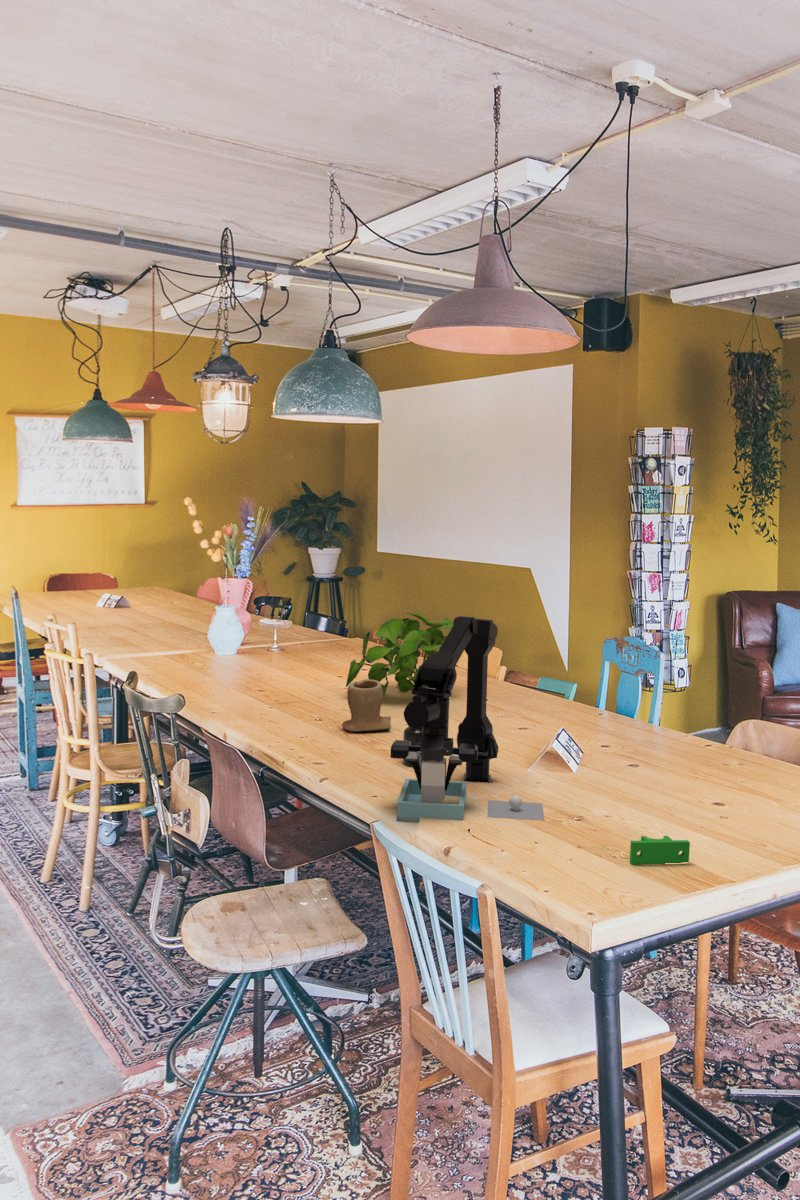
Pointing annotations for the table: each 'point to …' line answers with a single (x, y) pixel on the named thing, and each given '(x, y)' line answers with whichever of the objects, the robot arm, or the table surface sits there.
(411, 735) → the supplement bottle
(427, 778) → the beige rectangular block
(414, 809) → the bin
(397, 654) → the indoor plant
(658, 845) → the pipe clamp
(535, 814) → the stud base
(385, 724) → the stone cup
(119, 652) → the table surface
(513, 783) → the table surface
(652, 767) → the table surface
